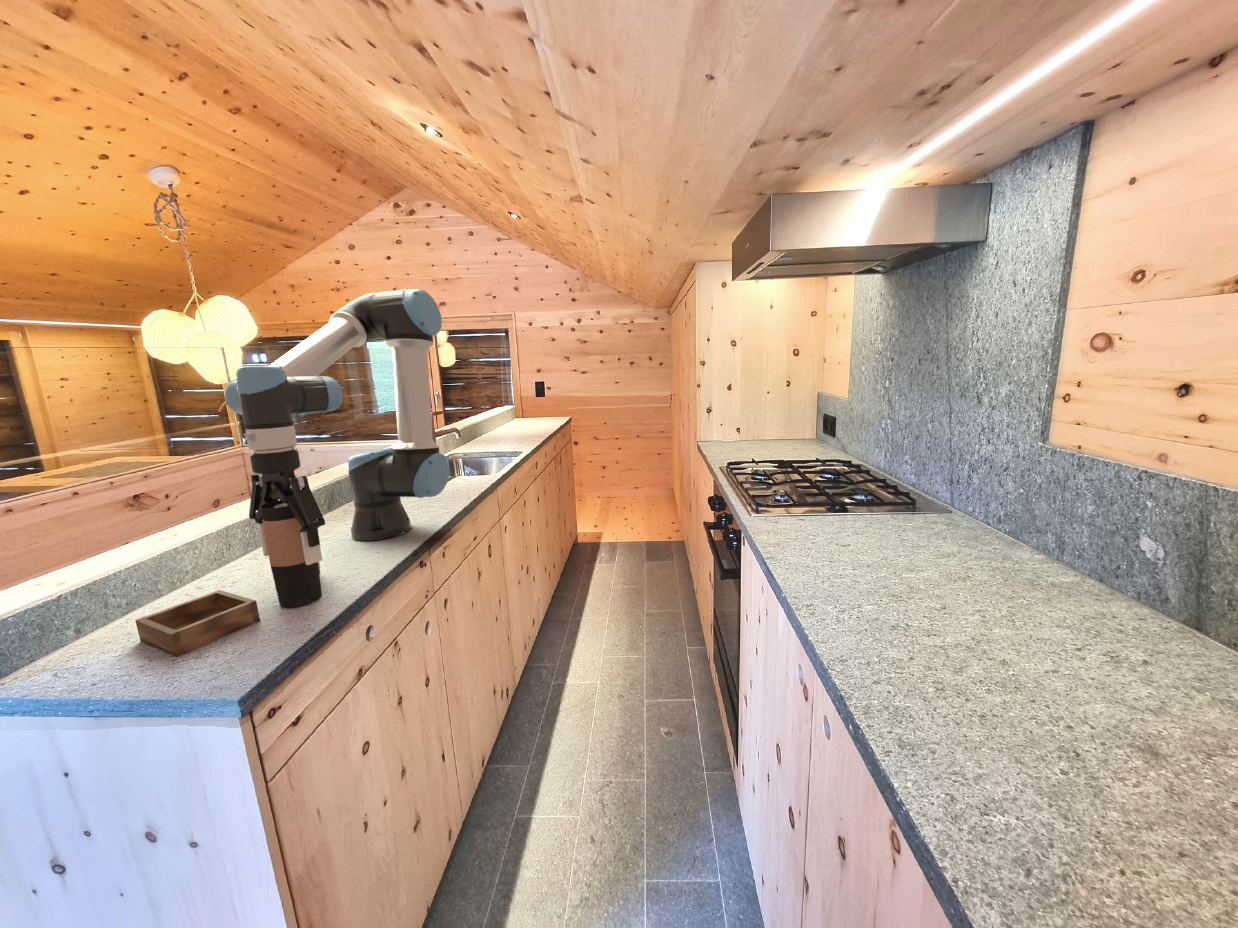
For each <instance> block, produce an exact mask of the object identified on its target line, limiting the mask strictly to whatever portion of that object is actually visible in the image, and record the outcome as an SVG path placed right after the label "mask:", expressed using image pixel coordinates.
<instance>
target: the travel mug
mask: <svg viewBox="0 0 1238 928" xmlns="http://www.w3.org/2000/svg"><path fill="white" fill-rule="evenodd" d="M260 510H261V516H262V521H263V527H264V532H265V538H266V543H267V549H268V554H269V555H268V559H269V563H270V570H271V573H272V577H273V583H274V586H275V591H276V594H277V598H278V602H279V606H280V608H282V609H286V610H287V609H290V610H291V609H299V608H302V607H306V606H309V605H311V604H314V603H316V602H318V601H319V600H320V599H322V596H323V593H322V591H323V590H322V585H321V584H322V583H321V577H320V576H321V575H320V576H319V568H318V562H316V563H313V564H310V565H306V563H305V557H304V551H303V545H302V539H301V533H300V530H301V528H302V527H301V525H300V524H299V522H298V520H297V519H296V517H295V516H294V514H293V513H292V511H291V510H290V508H289V507H288V505H287V504H286V503H283V502H282V501H281V500H279V499H278V501H273V502H269V503H266V504H264V505H262V506H261V507H260Z"/></svg>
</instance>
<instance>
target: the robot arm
mask: <svg viewBox="0 0 1238 928" xmlns="http://www.w3.org/2000/svg"><path fill="white" fill-rule="evenodd" d="M442 320H443V319H442V315H441V311H440V308H439V306H438V304H437V303H436V301H435V299H434V297H432V295H430V293H428V292H427V291H426V290H423V289H419V288H414V289H413V288H412V289H409V288H403V289H398V290H389V291H380V292H377V291H376V292H370V293H366V294H364V295H361V296H360V297H357V298H356V299H354V300H352V301H351V302H349V303H347V304H346V305H344V306H342V307H341V308H340V309H338V310H337V311H336V312H334V313H332V314H331V315H330V317H329V320H328V323H326V324H325V325H323V326H322V327H320V328H319V329H318V330H316V331H315V332H314V333H313V334H311V335H309V336H308V337H307V338H306V339H304V340H302V341H301V342H300V343H298V344H297V345H296V346H294V347H293V348H291V349H290V350H289V351H287V352H286V353H285V354H283V355H282V356H280V357H279V358H278V359H276V360H274V362H271V364H269V365H246V366H241V367H238V369H236V371H235V380H233V381H231V382H229V384H227V386H226V387H225V391H224V399H225V402H226V404H227V406H228V408H230V409H231V411H233V412H234V413H236V414H238V415H242V420H243V424H244V429H245V436H244V439H245V440H246V441H247V445H248V450H249V451H252V453H251V454H250V455H249V460H250V465H251V470H252V473H254V474H251V477H250V478H251V494H250V503H249V511H248V512H249V513H248V514H249V515H248V517H249V520H254V521H255V523H256V524H257V526H258V531H259V532H258V533H259V537H260V542H261V543H260V544H261V548H262V553H263V556H264V557H269V554H268V549H267V543H266V538H265V532H264V527H263V521H262V516H261V510H260V507H261V506H262V505H264V504H266V503H269V502H273V501H278V500H281V501H282V502H283V503H286V504H287V505H288V507H289V508H290V510H291V511H292V513H293V514H294V516H295V517H296V519H297V520H298V522H299V524H300V525H301V527H302V528H301V530H300V533H301V539H302V545H303V551H304V557H305V563H306V565H310V564H313V563H316V562H319V563H320V562H321V561H323V555H322V550H321V541H320V536H319V530H318V529H319V528H320V527H322V526H325V525H326V520H325V518H324V516H323V514H322V511H321V509H320V507H319V506H318V503H317V501H316V498H315V497H314V494H313V492H312V490H311V488H310V485H309V480H308V477H307V476H306V475H301V476H296V474H295V471H296V470H297V469H299V468H300V467H301V461H300V460H301V459H300V455H299V450H298V449H297V448H295V447H297V445H298V441H297V436H296V430H295V429H296V428H295V422H294V416H299V415H311V414H326V413H328V412H334V411H335V410H337V409H339V408H340V407H341V404H342V403H343V397H344V396H343V389H342V387H341V385H340V383H339V382H338V381H337V380H336V379H335V378H333V377H330V376H327V375H326V376H325V375H321V373H323V372H324V371H325V370H327V369H328V368H329V367H331V366H332V365H333V364H334V363H335V362H337V361H338V360H339V359H341V358H342V357H343V356H344V355H345V354H347V353H348V352H349V351H350V350H351V349H353V348H360V347H363V345H365V344H366V343H367V342H370V341H373V340H380V339H384V342H385V344H387V346H389V348H390V349H391V352H392V364H393V367H392V368H393V379H394V380H393V381H394V382H393V383H394V398H395V411H396V413H395V414H396V426H397V427H396V428H397V443H396V444H395V445H394V446H393V447H392V448H391V447H388V448H387V447H386V448H382V449H376V450H375V449H374V450H370V451H365V452H362V453H357V454H353V455H351V456H350V457H349V458H348V460H347V465H348V471H347V472H348V476H349V481H350V488H351V494H352V501H353V505H354V506H353V507H354V511H353V512H354V513H353V516H352V517H353V518H352V524H351V527H350V534H351V538H352V539H353V540H355V541H363V542H364V541H365V542H366V541H368V542H369V541H372V542H373V541H379V540H380V541H381V540H385V538H386V539H390V538H393V537H392V536H394V537H397V536H396V535H398V534H400V535H402V534H401V533H403V532H405V533H407V532H409V531H410V530H411V529H412V525H411V520H410V517H409V515H408V514H407V511H406V510H405V508H404V506H403V504H402V500H401V498H402V497H403V498H419V499H423V498H432V497H436V496H438V495H439V494H441V493H442V492H443V491H444V490H445V488H446V486H447V484H448V482H449V478H450V471H451V467H450V462H449V460H448V458H447V456H446V455H444V454H443V453H440V445H438V444H437V443H436V442H435V441H434V439H433V424H432V423H433V421H432V405H431V403H432V402H431V391H430V390H431V389H430V388H431V387H430V386H431V385H430V370H429V369H430V368H429V356H428V355H429V353H428V352H429V351H428V350H429V349H430V348H431V347H432V346H433V345H434V336H436V335H438V333H440V331H441V329H442V326H443V325H442V324H443V322H442ZM410 528H411V529H410ZM409 529H410V530H409ZM406 531H407V532H406ZM403 534H404V533H403ZM398 536H399V535H398ZM389 537H390V538H389Z"/></svg>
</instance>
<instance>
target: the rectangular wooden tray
mask: <svg viewBox="0 0 1238 928" xmlns="http://www.w3.org/2000/svg"><path fill="white" fill-rule="evenodd" d="M260 621H261V619H260V612H259V607H258V603H257V600H256V599H252V598H248V597H245V596H242V595H239V594H235V593H232V592H227V591H225V590H222V589H221V590H220V589H218V590H216V591H212V592H209V593H207V594H205V595H201V596H198V597H196V598H192V599H190V600H188V601H184V602H182V603H179V604H175V605H173V606H171V607H167V608H165V609H162V610H160V611H157V612H154V613H152V614H148V615H146V616H143V617H140V618H137V619H135V620H134V622H135V625H136V629H137V632H138V636H139V640H140V642H141V643H143V644H145V645H147V646H150V647H152V648H155V649H157V650H159V651H161V652H164V653H166V654H169V655H170V656H173V657H175V658H178V657H180V656H183V655H185V654H187V653H190V652H192V651H195V650H197V649H199V648H202V647H203V646H207V645H209V644H212V643H213V642H215V641H217V640H220V639H222V638H225V637H226V636H228V635H231V634H233V633H236V632H239V631H240V630H242V629H245V628H248V627H250V626H252V625H254V624H256V623H258V622H260Z"/></svg>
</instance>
